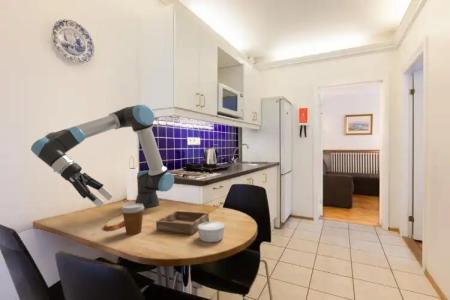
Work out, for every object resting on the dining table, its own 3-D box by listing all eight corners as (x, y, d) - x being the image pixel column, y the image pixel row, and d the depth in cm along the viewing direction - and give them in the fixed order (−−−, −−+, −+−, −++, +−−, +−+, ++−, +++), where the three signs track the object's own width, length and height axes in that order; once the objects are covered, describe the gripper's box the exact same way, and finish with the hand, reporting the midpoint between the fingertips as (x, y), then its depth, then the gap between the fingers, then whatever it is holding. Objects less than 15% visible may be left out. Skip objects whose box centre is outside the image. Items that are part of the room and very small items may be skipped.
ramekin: (210, 231, 106) (210, 219, 106) (230, 237, 99) (230, 224, 99) (192, 239, 98) (191, 226, 98) (212, 246, 91) (212, 232, 90)
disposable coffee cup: (117, 235, 103) (116, 208, 103) (131, 228, 113) (130, 202, 113) (136, 237, 101) (136, 208, 101) (149, 229, 110) (148, 203, 110)
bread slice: (105, 232, 109) (105, 224, 109) (101, 222, 124) (101, 215, 124) (146, 225, 118) (145, 217, 118) (137, 216, 133) (137, 209, 133)
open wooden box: (176, 219, 125) (176, 210, 125) (208, 222, 119) (208, 213, 119) (156, 231, 108) (156, 221, 108) (192, 234, 102) (192, 224, 102)
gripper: (73, 172, 113) (108, 201, 116) (44, 178, 89) (90, 215, 92) (85, 160, 114) (119, 190, 117) (60, 163, 90) (104, 201, 93)
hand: (106, 201), depth 105 cm, fingers open, 13 cm apart
